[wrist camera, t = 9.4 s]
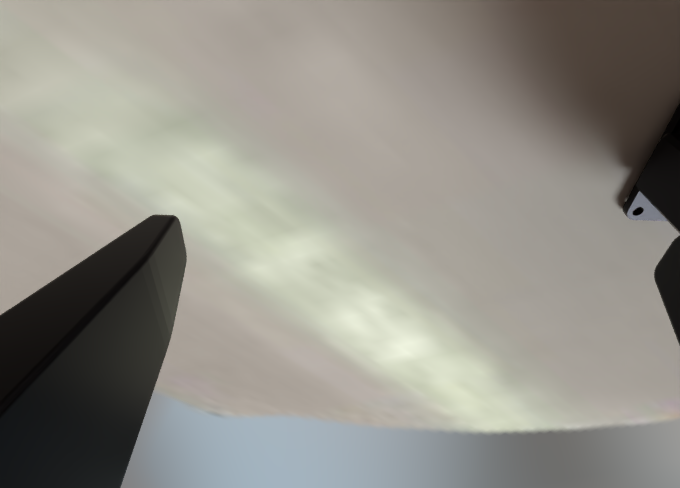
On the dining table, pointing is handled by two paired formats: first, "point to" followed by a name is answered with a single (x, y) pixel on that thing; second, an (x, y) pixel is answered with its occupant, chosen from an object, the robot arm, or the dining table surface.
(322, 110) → the dining table surface
